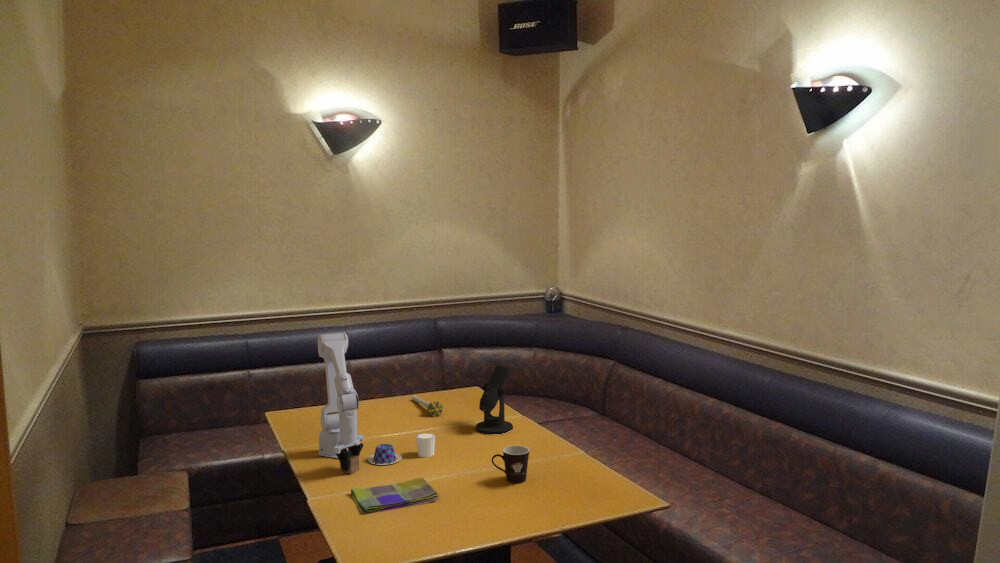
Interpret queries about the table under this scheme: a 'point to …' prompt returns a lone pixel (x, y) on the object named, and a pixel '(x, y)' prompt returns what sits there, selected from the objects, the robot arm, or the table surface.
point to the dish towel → (394, 496)
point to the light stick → (430, 406)
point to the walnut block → (352, 465)
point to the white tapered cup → (425, 444)
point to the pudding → (384, 455)
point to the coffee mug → (514, 463)
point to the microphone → (494, 403)
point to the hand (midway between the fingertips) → (349, 467)
